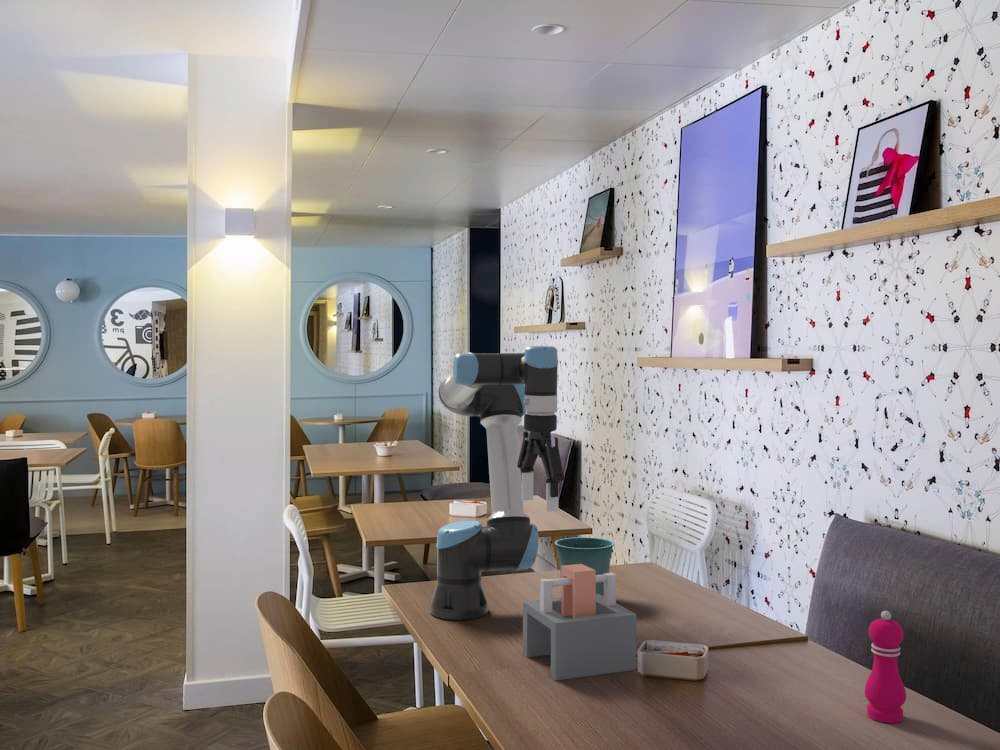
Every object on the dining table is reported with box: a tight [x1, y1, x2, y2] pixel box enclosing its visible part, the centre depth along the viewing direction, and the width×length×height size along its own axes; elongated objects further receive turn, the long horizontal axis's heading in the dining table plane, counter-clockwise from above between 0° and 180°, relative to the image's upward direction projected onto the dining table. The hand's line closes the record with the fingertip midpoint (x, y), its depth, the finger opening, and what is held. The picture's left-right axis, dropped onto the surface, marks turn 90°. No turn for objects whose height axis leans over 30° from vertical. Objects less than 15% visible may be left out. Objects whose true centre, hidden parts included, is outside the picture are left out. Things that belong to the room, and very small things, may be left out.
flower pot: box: [554, 536, 615, 596], centre depth 252 cm, size 16×16×16 cm
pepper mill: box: [864, 610, 907, 724], centre depth 171 cm, size 7×7×20 cm
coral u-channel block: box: [560, 564, 596, 618], centre depth 202 cm, size 7×5×11 cm
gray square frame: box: [522, 572, 638, 682], centre depth 202 cm, size 18×19×19 cm
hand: (539, 505), depth 211 cm, fingers open, 13 cm apart
